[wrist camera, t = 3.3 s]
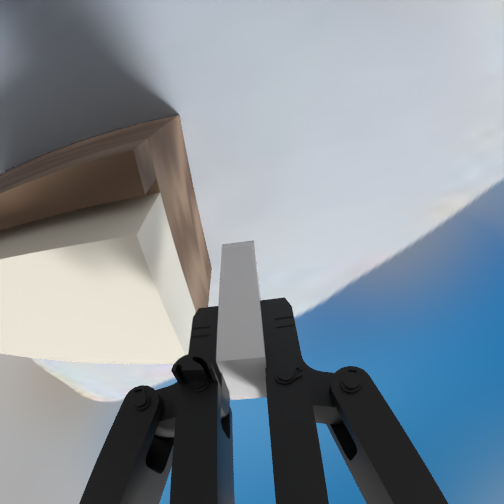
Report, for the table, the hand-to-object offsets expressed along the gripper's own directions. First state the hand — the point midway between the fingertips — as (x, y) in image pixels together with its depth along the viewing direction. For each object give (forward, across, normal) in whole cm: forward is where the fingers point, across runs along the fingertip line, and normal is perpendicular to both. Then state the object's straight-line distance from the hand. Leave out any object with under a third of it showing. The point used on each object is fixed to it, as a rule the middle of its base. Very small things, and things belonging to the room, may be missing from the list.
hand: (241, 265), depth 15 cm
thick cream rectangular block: (+1, -12, 0) cm, 13 cm away
